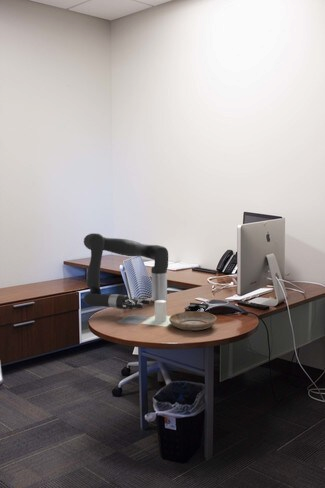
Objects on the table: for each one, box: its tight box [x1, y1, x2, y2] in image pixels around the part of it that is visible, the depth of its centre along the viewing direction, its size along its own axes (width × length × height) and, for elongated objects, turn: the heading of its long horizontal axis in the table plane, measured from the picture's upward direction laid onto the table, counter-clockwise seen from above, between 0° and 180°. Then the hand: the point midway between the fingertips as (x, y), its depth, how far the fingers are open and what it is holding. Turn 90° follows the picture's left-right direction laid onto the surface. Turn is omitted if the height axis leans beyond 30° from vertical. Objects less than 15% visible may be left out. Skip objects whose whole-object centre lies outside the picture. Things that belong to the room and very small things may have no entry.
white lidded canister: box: [154, 300, 168, 322], centre depth 266 cm, size 6×6×10 cm
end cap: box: [187, 302, 210, 313], centre depth 275 cm, size 10×7×7 cm
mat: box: [115, 313, 151, 326], centre depth 269 cm, size 16×12×1 cm
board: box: [140, 314, 172, 328], centre depth 267 cm, size 18×14×1 cm
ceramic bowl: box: [169, 311, 217, 331], centre depth 256 cm, size 23×24×5 cm
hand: (146, 304), depth 269 cm, fingers open, 8 cm apart
